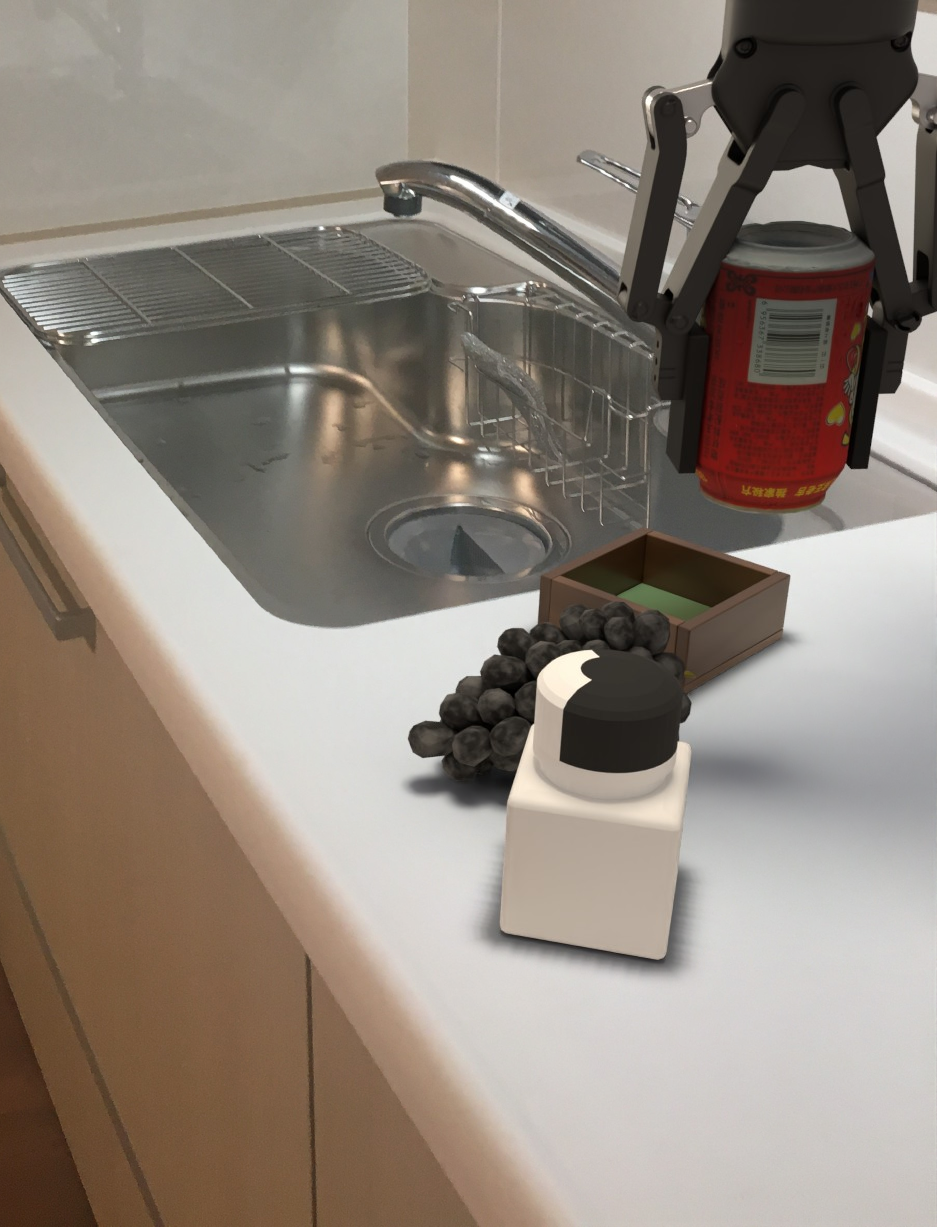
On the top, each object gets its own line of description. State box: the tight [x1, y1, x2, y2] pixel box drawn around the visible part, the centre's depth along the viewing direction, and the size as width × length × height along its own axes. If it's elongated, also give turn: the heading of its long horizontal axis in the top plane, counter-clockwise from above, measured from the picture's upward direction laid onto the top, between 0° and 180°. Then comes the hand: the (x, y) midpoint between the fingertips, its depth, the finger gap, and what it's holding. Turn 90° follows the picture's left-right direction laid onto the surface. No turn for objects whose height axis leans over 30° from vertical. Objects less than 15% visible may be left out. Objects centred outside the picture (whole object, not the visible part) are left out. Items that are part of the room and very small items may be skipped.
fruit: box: [407, 601, 696, 784], centre depth 86 cm, size 9×8×15 cm
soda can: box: [695, 220, 875, 515], centre depth 77 cm, size 7×7×12 cm
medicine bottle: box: [499, 650, 693, 961], centre depth 74 cm, size 7×7×12 cm
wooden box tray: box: [537, 526, 791, 694], centre depth 98 cm, size 10×10×4 cm
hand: (764, 460), depth 79 cm, fingers closed on soda can, 7 cm apart
